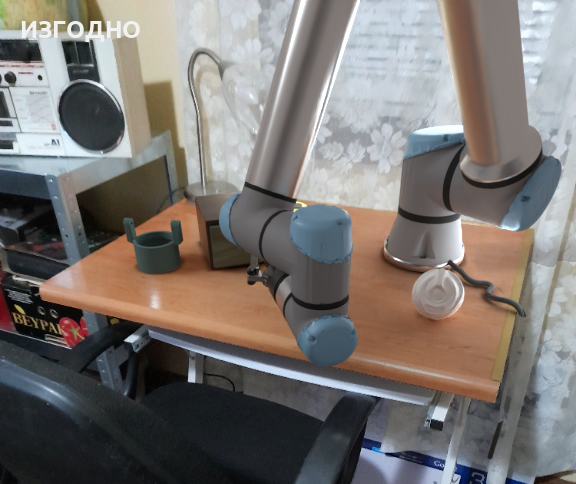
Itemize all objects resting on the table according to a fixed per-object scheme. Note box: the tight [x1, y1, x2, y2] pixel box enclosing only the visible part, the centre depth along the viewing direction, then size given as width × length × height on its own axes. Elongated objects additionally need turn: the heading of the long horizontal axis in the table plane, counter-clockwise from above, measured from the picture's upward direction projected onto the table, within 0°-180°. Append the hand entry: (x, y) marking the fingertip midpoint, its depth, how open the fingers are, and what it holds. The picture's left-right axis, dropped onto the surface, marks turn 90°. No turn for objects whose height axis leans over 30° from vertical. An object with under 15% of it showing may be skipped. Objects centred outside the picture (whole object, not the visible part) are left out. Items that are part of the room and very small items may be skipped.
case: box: [194, 190, 264, 271], centre depth 104 cm, size 14×13×10 cm
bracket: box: [122, 217, 184, 275], centre depth 100 cm, size 9×9×9 cm
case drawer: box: [209, 224, 263, 268], centre depth 102 cm, size 14×11×8 cm
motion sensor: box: [411, 268, 465, 321], centre depth 84 cm, size 8×8×8 cm
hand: (261, 234), depth 97 cm, fingers closed
